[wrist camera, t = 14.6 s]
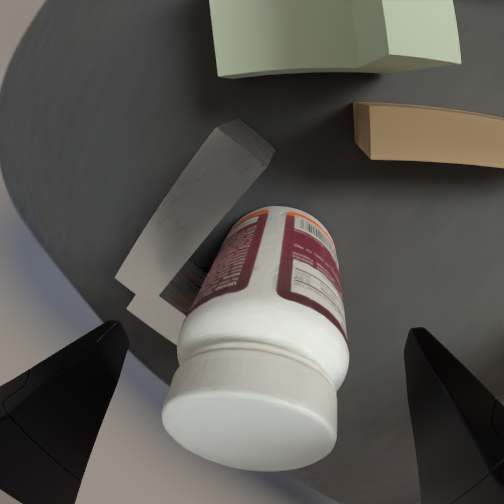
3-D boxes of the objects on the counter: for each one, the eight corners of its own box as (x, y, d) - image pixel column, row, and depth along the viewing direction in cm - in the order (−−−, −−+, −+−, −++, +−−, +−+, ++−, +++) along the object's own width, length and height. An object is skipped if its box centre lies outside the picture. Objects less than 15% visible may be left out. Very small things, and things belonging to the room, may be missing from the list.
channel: (537, 158, 9) (578, 180, 6) (354, 142, 10) (370, 159, 8) (516, -39, 4) (550, -53, 2) (323, -85, 6) (326, -123, 3)
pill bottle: (231, 300, 15) (174, 463, 8) (218, 204, 13) (111, 363, 5) (333, 302, 14) (337, 480, 7) (339, 203, 12) (375, 385, 4)
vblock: (289, 350, 16) (284, 396, 13) (178, 344, 17) (159, 384, 14) (273, 115, 10) (261, 122, 8) (122, 136, 12) (79, 153, 9)
